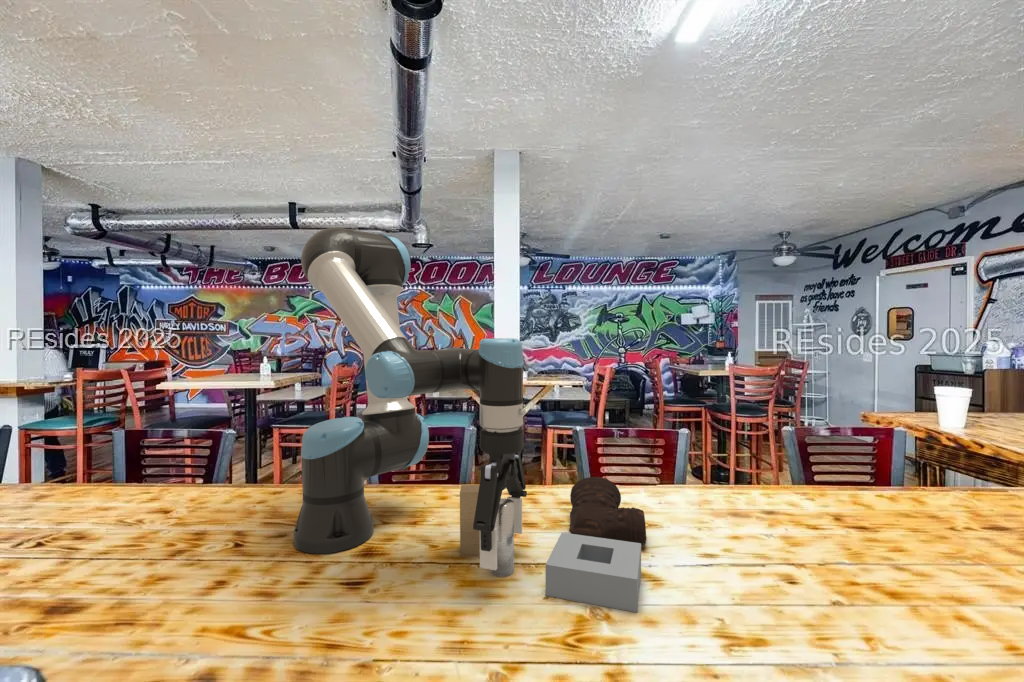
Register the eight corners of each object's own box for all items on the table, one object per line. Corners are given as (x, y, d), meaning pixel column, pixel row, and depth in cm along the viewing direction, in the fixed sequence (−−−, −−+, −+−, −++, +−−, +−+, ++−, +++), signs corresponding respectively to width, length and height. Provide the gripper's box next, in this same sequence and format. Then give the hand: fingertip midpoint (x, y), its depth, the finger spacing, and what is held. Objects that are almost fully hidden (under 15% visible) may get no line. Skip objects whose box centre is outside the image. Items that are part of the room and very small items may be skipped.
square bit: (460, 556, 86) (459, 492, 86) (461, 546, 90) (461, 484, 90) (481, 555, 86) (481, 491, 86) (482, 545, 90) (482, 484, 90)
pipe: (646, 515, 86) (638, 475, 101) (565, 514, 89) (568, 476, 103) (648, 561, 88) (640, 516, 102) (569, 559, 91) (572, 515, 105)
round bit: (487, 574, 80) (487, 505, 79) (495, 563, 83) (495, 497, 83) (509, 578, 78) (509, 508, 78) (516, 566, 82) (516, 499, 82)
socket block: (545, 595, 73) (545, 564, 73) (561, 559, 85) (561, 532, 84) (637, 612, 69) (637, 579, 69) (641, 571, 80) (641, 543, 80)
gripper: (497, 446, 67) (498, 591, 68) (541, 415, 91) (541, 522, 91) (450, 443, 69) (451, 582, 70) (504, 413, 93) (505, 517, 94)
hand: (502, 548), depth 81 cm, fingers open, 13 cm apart
